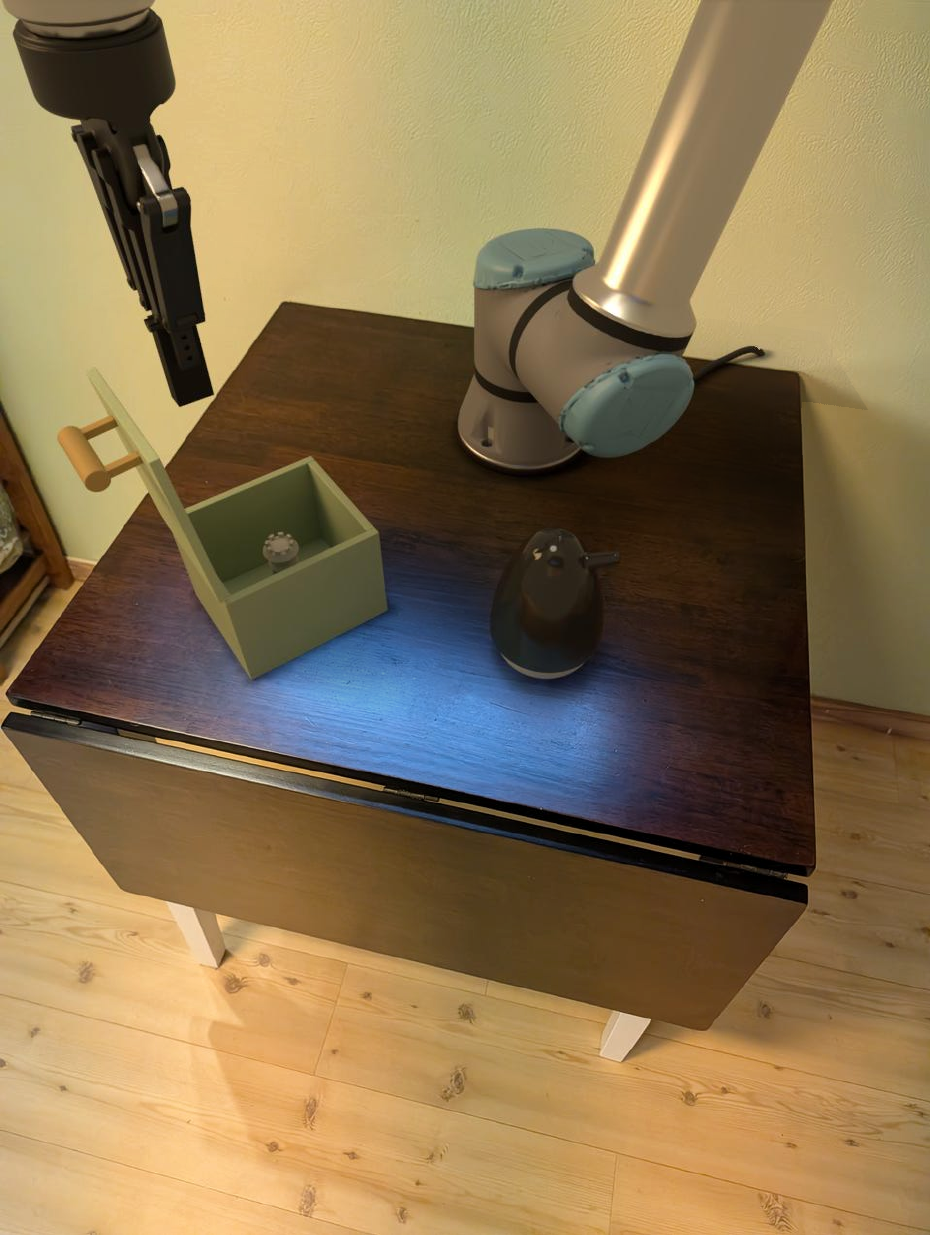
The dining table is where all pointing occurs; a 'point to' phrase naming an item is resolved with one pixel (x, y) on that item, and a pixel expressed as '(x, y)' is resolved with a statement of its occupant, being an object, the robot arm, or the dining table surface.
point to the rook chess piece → (281, 552)
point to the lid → (148, 468)
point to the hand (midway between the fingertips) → (192, 395)
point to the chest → (300, 595)
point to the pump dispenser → (550, 604)
